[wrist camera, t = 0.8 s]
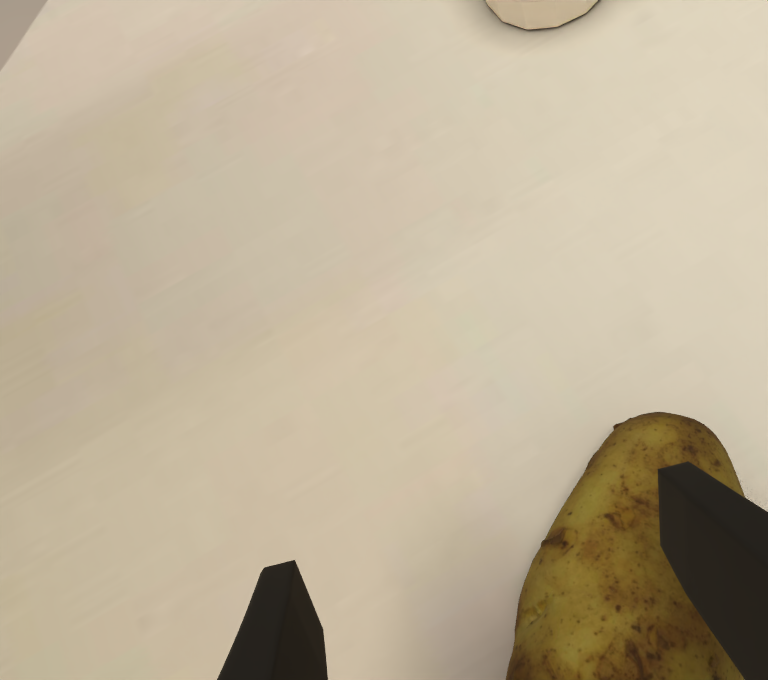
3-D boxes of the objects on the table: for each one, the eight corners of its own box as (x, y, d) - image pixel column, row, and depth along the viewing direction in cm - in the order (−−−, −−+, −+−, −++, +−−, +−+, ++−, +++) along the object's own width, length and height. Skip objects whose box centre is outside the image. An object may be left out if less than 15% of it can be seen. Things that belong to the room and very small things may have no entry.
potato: (841, 528, 24) (945, 533, 17) (635, 809, 24) (648, 940, 16) (640, 397, 27) (652, 354, 20) (458, 644, 27) (403, 691, 20)
